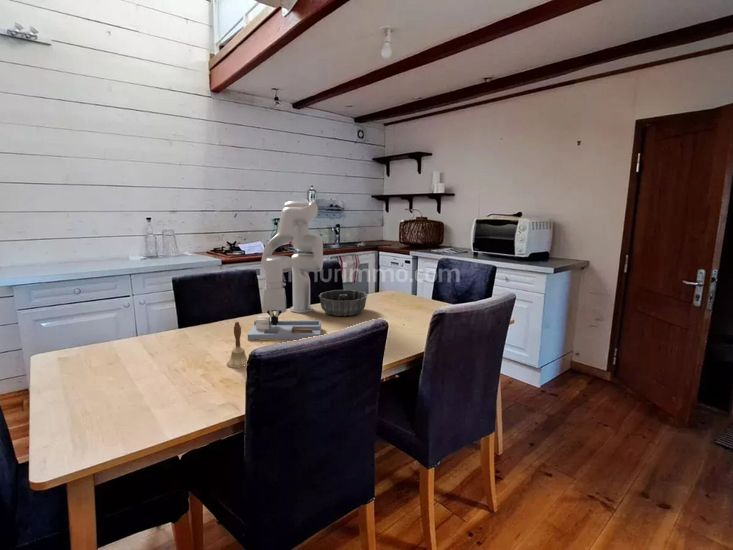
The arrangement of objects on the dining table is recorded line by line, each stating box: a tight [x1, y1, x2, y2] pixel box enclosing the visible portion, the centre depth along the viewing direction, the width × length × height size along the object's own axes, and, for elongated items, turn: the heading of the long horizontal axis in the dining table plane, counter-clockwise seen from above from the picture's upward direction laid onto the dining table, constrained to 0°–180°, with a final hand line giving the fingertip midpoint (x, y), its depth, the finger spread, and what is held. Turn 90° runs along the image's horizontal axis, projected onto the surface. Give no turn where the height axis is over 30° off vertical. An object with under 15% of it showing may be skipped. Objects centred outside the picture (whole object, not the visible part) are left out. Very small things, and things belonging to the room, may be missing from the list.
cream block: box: [255, 315, 271, 329], centre depth 178 cm, size 6×6×4 cm
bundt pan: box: [318, 289, 368, 317], centre depth 214 cm, size 26×26×10 cm
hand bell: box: [226, 321, 248, 369], centre depth 143 cm, size 8×8×16 cm
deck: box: [247, 320, 322, 341], centre depth 177 cm, size 15×31×4 cm, turn 95°
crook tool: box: [292, 328, 312, 333], centre depth 173 cm, size 3×9×1 cm, turn 95°
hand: (274, 324), depth 179 cm, fingers closed
